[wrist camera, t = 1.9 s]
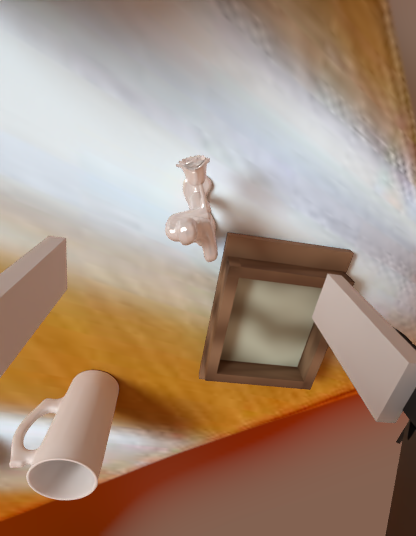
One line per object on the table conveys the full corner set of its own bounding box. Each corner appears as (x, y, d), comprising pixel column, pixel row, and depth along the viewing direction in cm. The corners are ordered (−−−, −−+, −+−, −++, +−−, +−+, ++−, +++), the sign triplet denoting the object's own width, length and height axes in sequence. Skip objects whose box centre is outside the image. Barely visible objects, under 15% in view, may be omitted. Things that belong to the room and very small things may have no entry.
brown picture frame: (227, 232, 33) (231, 243, 30) (349, 249, 35) (365, 262, 31) (199, 373, 41) (199, 394, 38) (298, 382, 43) (307, 402, 40)
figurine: (186, 245, 34) (184, 305, 23) (156, 160, 30) (136, 182, 19) (228, 233, 33) (247, 287, 22) (204, 144, 29) (211, 158, 18)
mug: (123, 370, 41) (99, 461, 30) (119, 407, 43) (96, 502, 32) (43, 362, 39) (-13, 453, 28) (44, 399, 42) (-7, 496, 31)
